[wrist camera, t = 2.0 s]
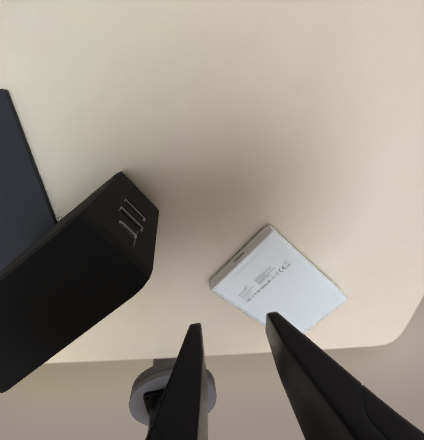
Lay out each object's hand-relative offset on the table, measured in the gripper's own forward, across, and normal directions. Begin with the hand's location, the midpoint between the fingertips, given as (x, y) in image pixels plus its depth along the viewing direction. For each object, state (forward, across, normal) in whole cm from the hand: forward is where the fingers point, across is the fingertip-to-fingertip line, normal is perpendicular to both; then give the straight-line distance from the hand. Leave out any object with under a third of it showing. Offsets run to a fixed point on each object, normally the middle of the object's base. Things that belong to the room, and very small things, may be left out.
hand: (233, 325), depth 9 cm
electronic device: (+12, +9, 0) cm, 15 cm away
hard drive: (+12, -7, +9) cm, 17 cm away
